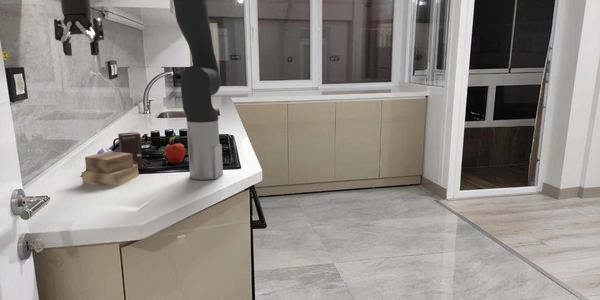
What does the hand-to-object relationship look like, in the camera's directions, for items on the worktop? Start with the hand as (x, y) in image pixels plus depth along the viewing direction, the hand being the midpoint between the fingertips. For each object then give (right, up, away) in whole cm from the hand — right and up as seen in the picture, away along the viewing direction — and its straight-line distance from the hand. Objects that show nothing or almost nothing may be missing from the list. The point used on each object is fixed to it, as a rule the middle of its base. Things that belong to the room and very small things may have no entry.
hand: (81, 55), depth 124 cm
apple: (+22, -33, +20) cm, 44 cm away
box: (+11, -35, +11) cm, 38 cm away
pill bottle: (-2, -30, +20) cm, 36 cm away
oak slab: (+9, -37, 0) cm, 38 cm away
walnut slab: (+9, -34, -1) cm, 35 cm away
